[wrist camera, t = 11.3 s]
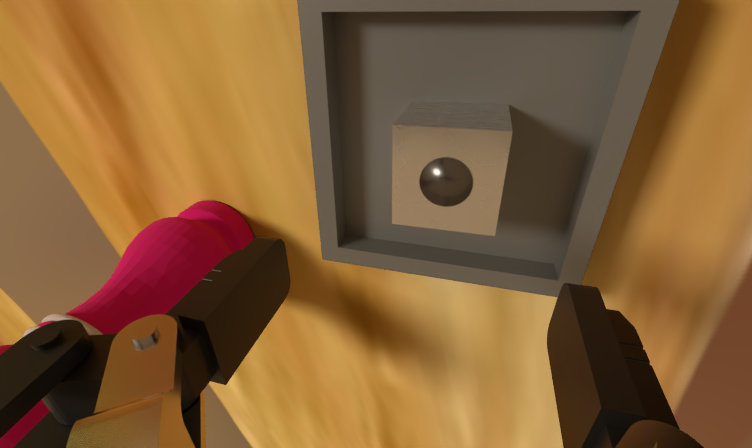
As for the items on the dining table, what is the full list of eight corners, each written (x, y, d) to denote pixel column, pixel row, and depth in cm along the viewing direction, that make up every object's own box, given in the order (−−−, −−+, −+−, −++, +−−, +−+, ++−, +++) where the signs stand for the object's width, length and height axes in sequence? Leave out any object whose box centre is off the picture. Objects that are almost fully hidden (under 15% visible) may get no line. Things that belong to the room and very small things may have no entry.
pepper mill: (169, 226, 32) (-189, 469, 15) (206, 175, 28) (-218, 426, 11) (234, 282, 33) (-28, 562, 16) (277, 241, 29) (-6, 552, 13)
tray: (335, 240, 28) (322, 259, 26) (316, -15, 20) (295, -18, 18) (568, 274, 24) (575, 299, 22) (663, -23, 16) (688, -27, 14)
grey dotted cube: (410, 184, 23) (391, 224, 19) (413, 100, 20) (392, 125, 16) (494, 192, 22) (494, 236, 18) (508, 104, 19) (512, 132, 15)
